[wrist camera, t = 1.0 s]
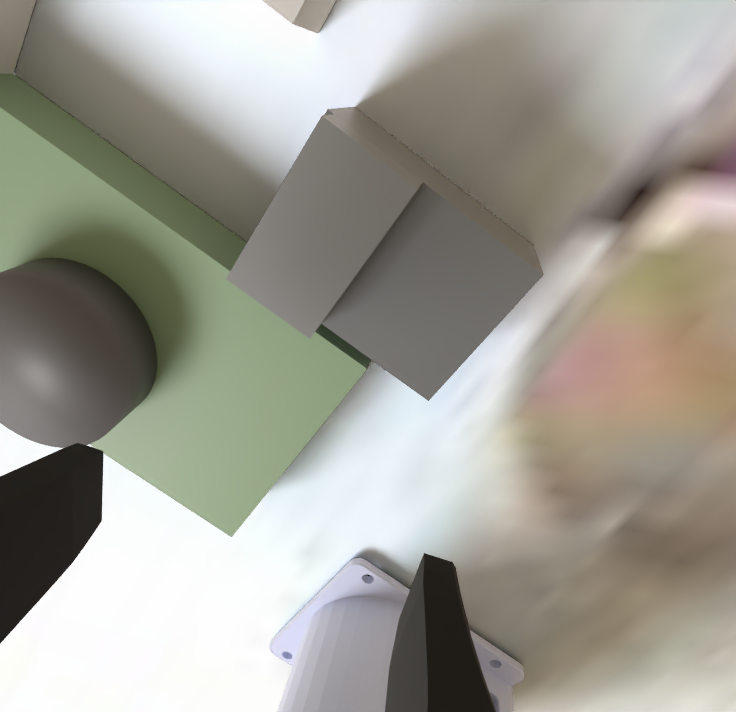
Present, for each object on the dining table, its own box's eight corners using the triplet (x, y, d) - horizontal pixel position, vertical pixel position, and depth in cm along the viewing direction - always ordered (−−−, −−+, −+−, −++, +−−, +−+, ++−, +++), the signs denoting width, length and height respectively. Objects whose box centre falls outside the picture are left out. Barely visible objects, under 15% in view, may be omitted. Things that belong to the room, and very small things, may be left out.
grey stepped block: (533, 243, 18) (547, 288, 14) (437, 353, 20) (424, 421, 16) (355, 106, 17) (315, 110, 13) (276, 236, 20) (219, 274, 15)
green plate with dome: (533, 145, 17) (549, 161, 13) (254, 496, 24) (209, 576, 20) (65, -225, 15) (-87, -343, 11) (-76, 276, 23) (-196, 314, 19)
